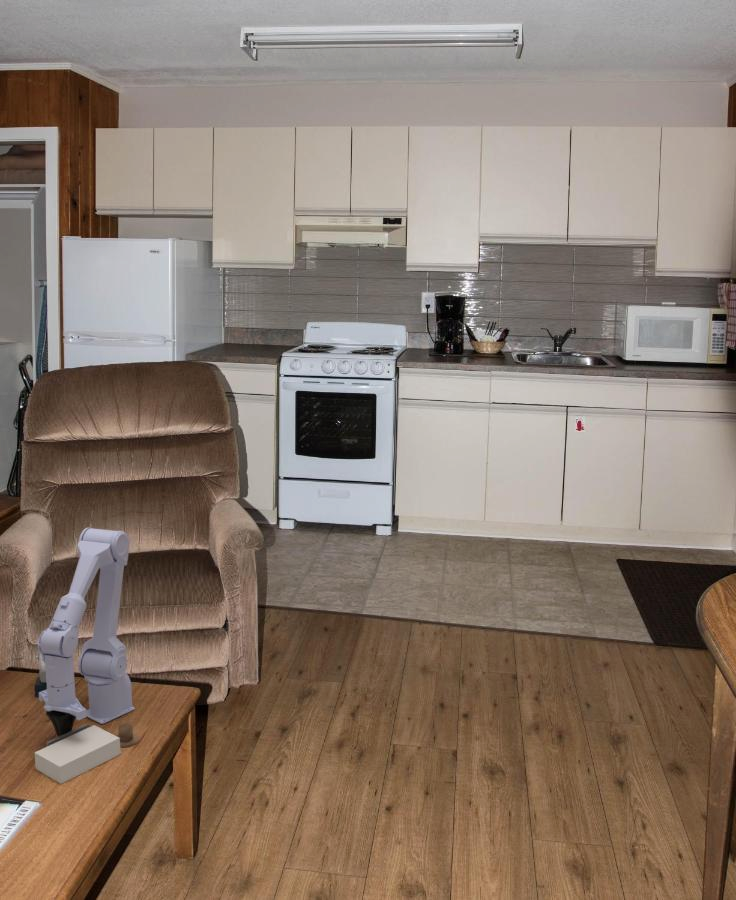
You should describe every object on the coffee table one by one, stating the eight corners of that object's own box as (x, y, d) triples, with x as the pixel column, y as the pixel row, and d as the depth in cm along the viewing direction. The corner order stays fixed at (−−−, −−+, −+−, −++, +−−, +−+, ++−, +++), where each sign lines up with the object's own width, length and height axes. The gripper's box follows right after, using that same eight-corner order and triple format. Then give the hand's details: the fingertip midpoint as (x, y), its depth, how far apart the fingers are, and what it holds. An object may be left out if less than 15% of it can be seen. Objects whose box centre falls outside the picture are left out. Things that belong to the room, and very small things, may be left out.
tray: (47, 755, 202) (46, 742, 202) (88, 736, 210) (87, 723, 210) (72, 769, 197) (71, 755, 196) (113, 748, 205) (112, 735, 204)
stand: (128, 732, 214) (127, 717, 213) (144, 740, 210) (143, 725, 210) (107, 742, 209) (107, 727, 209) (123, 750, 206) (123, 735, 205)
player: (35, 768, 199) (33, 752, 198) (94, 740, 210) (93, 724, 209) (61, 783, 193) (60, 766, 192) (120, 754, 205) (119, 737, 204)
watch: (62, 684, 237) (59, 642, 235) (57, 698, 229) (54, 656, 227) (39, 685, 236) (36, 644, 234) (33, 700, 228) (30, 658, 226)
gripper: (24, 678, 205) (29, 736, 208) (64, 698, 196) (68, 758, 199) (53, 667, 211) (57, 723, 213) (93, 686, 202) (96, 744, 205)
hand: (64, 739), depth 207 cm, fingers closed
